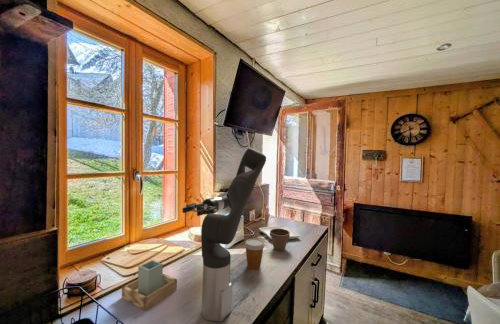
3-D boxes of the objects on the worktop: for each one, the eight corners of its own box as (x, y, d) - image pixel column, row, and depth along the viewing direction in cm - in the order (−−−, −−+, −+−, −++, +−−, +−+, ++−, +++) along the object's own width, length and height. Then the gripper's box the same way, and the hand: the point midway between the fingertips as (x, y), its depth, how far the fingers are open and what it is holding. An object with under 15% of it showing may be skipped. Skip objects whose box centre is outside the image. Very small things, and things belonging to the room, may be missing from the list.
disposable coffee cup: (253, 260, 114) (254, 236, 113) (267, 267, 107) (268, 242, 107) (239, 266, 107) (240, 241, 107) (253, 274, 100) (254, 247, 100)
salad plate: (284, 229, 164) (284, 224, 163) (301, 240, 144) (301, 235, 144) (258, 232, 156) (258, 227, 156) (271, 243, 136) (271, 238, 136)
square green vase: (162, 289, 86) (162, 263, 85) (148, 297, 80) (148, 270, 80) (151, 284, 88) (152, 259, 88) (137, 292, 83) (138, 266, 83)
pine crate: (176, 289, 87) (177, 279, 87) (145, 310, 75) (145, 299, 75) (154, 279, 94) (154, 270, 93) (121, 297, 81) (122, 287, 81)
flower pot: (280, 255, 120) (280, 236, 120) (265, 248, 129) (265, 230, 129) (293, 249, 128) (293, 232, 128) (278, 243, 137) (279, 227, 136)
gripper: (202, 196, 114) (178, 201, 100) (225, 199, 108) (203, 205, 93) (202, 210, 115) (178, 217, 101) (224, 214, 108) (202, 223, 94)
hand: (190, 212), depth 97 cm, fingers open, 8 cm apart
